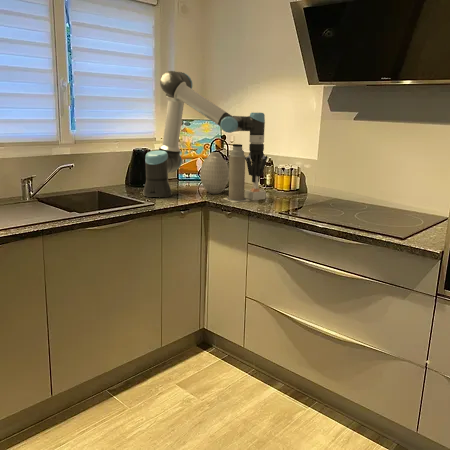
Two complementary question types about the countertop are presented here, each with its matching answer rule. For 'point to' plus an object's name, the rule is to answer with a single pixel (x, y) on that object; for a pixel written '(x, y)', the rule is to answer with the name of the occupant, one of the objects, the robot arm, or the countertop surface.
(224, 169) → the vase
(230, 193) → the thermos bottle
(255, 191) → the brown egg
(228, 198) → the beige square plate
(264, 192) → the housing
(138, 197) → the countertop surface
